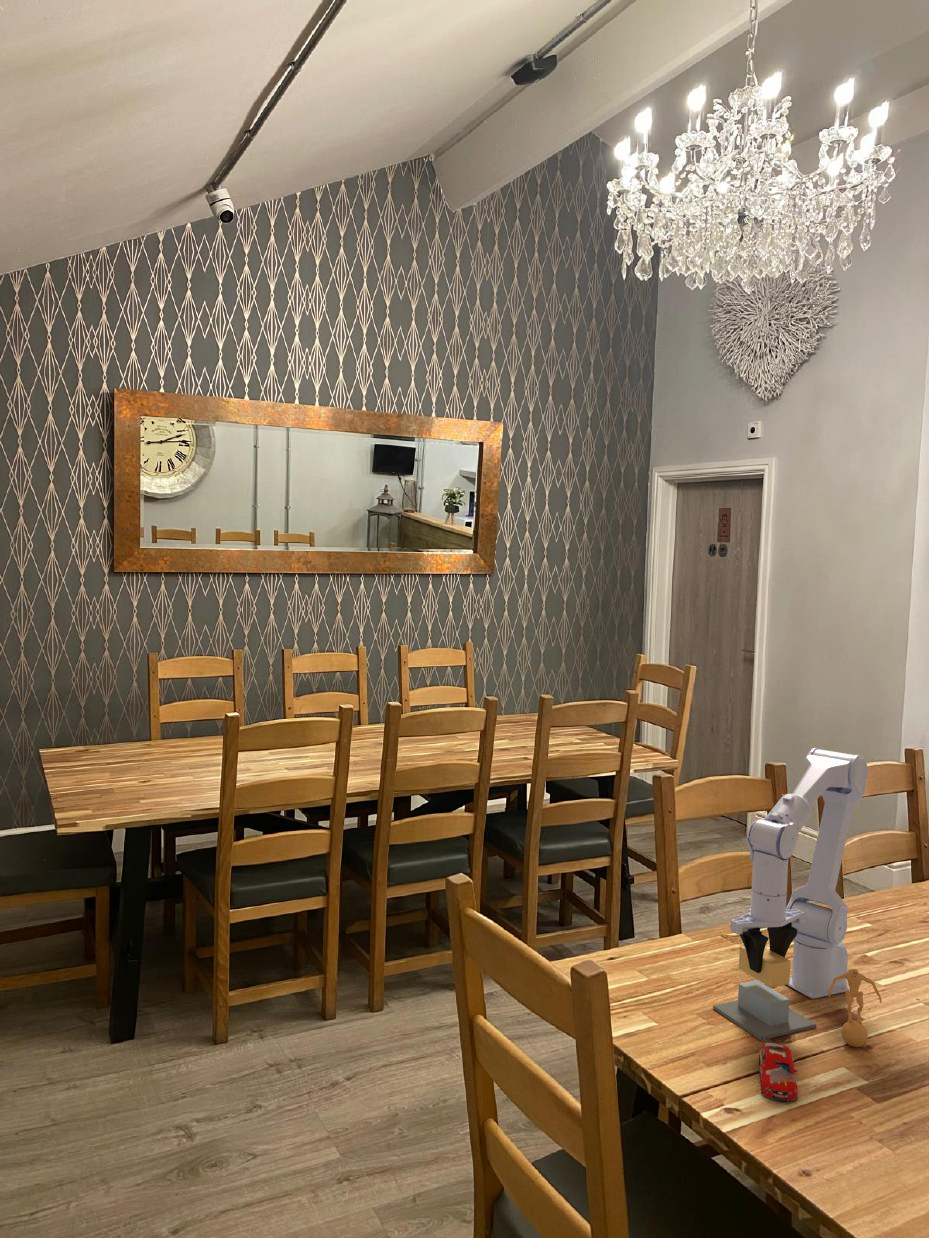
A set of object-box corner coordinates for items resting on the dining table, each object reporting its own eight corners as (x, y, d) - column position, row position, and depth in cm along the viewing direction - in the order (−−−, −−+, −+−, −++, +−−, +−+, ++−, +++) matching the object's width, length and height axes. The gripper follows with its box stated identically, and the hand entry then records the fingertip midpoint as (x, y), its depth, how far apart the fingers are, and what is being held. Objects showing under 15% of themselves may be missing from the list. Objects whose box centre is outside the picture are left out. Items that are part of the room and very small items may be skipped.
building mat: (766, 997, 171) (766, 993, 171) (816, 1027, 160) (816, 1023, 160) (713, 1008, 166) (713, 1005, 166) (760, 1040, 155) (760, 1036, 155)
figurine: (829, 1047, 154) (832, 975, 153) (823, 1030, 159) (826, 960, 159) (883, 1054, 152) (887, 981, 151) (876, 1036, 158) (879, 966, 157)
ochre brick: (756, 965, 168) (757, 943, 167) (789, 983, 160) (790, 960, 160) (738, 968, 166) (739, 946, 166) (771, 987, 159) (772, 964, 159)
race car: (798, 1109, 136) (799, 1082, 136) (759, 1102, 138) (760, 1075, 138) (794, 1063, 149) (795, 1038, 149) (758, 1057, 151) (759, 1032, 150)
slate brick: (755, 1001, 168) (756, 979, 168) (788, 1021, 161) (789, 998, 161) (737, 1005, 166) (738, 983, 166) (770, 1026, 159) (771, 1002, 159)
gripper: (784, 878, 169) (781, 953, 169) (719, 888, 163) (716, 965, 163) (814, 891, 162) (810, 968, 163) (748, 901, 156) (744, 982, 157)
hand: (765, 968), depth 163 cm, fingers closed on ochre brick, 4 cm apart
